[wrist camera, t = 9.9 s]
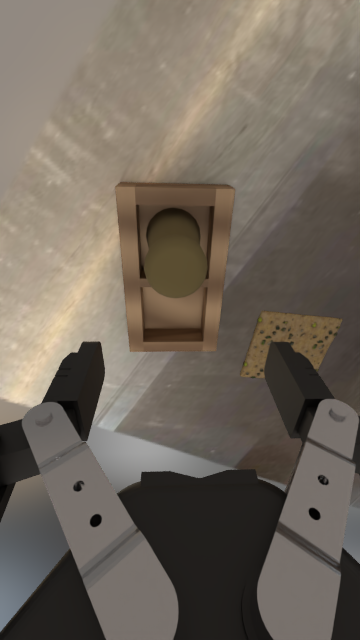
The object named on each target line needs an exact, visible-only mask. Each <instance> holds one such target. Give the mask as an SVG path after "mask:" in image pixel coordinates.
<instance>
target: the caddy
mask: <svg viewBox="0 0 360 640" xmlns="http://www.w3.org/2000/svg"><path fill="white" fill-rule="evenodd" d="M115 190H116V201H117V212H118V223H119V234H120V246H121V257H122V268H123V279H124V291H125V302H126V313H127V324H128V336H129V347H130V352H155V351H216V347H217V338H218V330H219V321H220V313H221V305H222V296H223V288H224V279H225V271H226V262H227V254H228V246H229V237H230V229H231V220H232V212H233V203H234V195H235V189H234V188H232V187H231V186H229V185H215V184H171V183H127V182H120V183H119V184H118V185H117V186H115ZM172 207H173V208H180V209H183V210H185V211H187V212H189V213H190V214H191V215H192V216H193V217H194V218H195V219H196V221H197V223H198V225H199V227H200V246H201V247H202V249H203V252H204V254H205V256H206V258H207V266H208V269H207V273H206V278H205V280H204V282H203V283H202V285H201V287H200V288H199V289H198V290H196V291H195V292H194V293H193V294H191V295H188V296H186V297H182V298H169V297H166V296H163V295H161V294H159V293H158V292H156V291H155V290H154V289H153V288H152V287H151V285H150V284H149V282H148V280H147V279H146V275H145V271H144V264H145V257H146V255H147V253H148V250H149V248H148V244H147V239H146V231H147V226H148V224H149V222H150V220H151V219H152V218H153V216H154V215H155V214H156V213H158V212H160V211H161V210H163V209H167V208H172Z"/></svg>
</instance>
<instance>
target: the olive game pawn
mask: <svg viewBox="0 0 360 640" xmlns="http://www.w3.org/2000/svg"><path fill="white" fill-rule="evenodd" d="M146 239H147V244H148V248H149V250H148V253H147V255H146V257H145V264H144V271H145V275H146V279H147V280H148V282H149V284H150V285H151V287H152V288H153V289H154V290H155V291H156V292H158V293H159V294H161V295H163V296H166V297H169V298H182V297H186V296H188V295H191V294H193V293H194V292H195V291H196V290H198V289H199V288H200V287H201V285H202V283H203V282H204V280H205V278H206V273H207V269H208V266H207V258H206V256H205V254H204V252H203V249H202V247H201V246H200V227H199V225H198V223H197V221H196V219H195V218H194V217H193V216H192V215H191V214H190V213H189V212H187V211H185V210H183V209H180V208H173V207H172V208H167V209H163V210H161V211H160V212H158V213H156V214H155V215H154V216H153V218H152V219H151V220H150V222H149V224H148V226H147V231H146Z"/></svg>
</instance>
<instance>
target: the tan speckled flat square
mask: <svg viewBox="0 0 360 640" xmlns="http://www.w3.org/2000/svg"><path fill="white" fill-rule="evenodd" d="M341 322H342V319H338V318H332V317H321V316H309V315H300V314H292V313H279V312H269V311H261V314H260V317H259V318H258V323H257V325H256V328H255V330H254V335H253V338H252V340H251V343H250V347H249V349H248V352H247V355H246V359H245V361H244V364H243V367H242V370H241V373H240V376H242V377H251V378H265V375H264V367H265V362H266V358H267V354H268V350H269V346H270V343H271V342H289V343H290V345H291V346H292V348H293V349H294V351H295V352H300V353H301V354H302V355H304V356H305V357H306V358H308V359H309V361H310V362H311V364H312V365H313V367H314V369H315V370H316V371H318V370H319V369H318V368H319V366H320V364H321V362H322V361H323V358H324V356H325V354H326V351H327V349H328V347H329V346H330V344H331V342H332V341H333V339H334V337H335V336H336V335H337V331H338V329H339V328H340V324H341Z"/></svg>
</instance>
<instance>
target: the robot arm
mask: <svg viewBox="0 0 360 640" xmlns="http://www.w3.org/2000/svg"><path fill="white" fill-rule="evenodd" d="M264 375H265V379H266V382H267V384H268V386H269V389H270V391H271V393H272V396H273V398H274V401H275V403H276V405H277V408H278V410H279V412H280V415H281V417H282V420H283V422H284V424H285V427H286V429H287V431H288V434H289V436H290V438H301V441H302V443H303V444H302V446H301V449H300V451H299V454H298V457H297V460H296V462H295V465H294V468H293V471H292V473H291V476H290V479H289V482H288V484H287V487H286V489H285V492H284V491H282V490H281V489H279V488H278V487H276V486H274V485H272V484H270V483H268V482H266V481H263V480H260V479H258V478H257V474H256V471H255V469H251V470H226V471H223V472H220V473H216V474H213V475H210V476H207V477H203V478H195V477H191V476H187V475H183V474H178V473H175V472H171V471H163V472H142V474H141V481H140V482H137V483H134V484H132V485H130V486H128V487H126V488H125V489H123V490H121V491H120V492H119V493H117V494H116V492H115V490H114V489H113V487H112V485H111V483H110V482H109V480H108V478H107V477H106V475H105V473H104V471H103V470H102V468H101V466H100V465H99V463H98V461H97V460H96V458H95V456H94V455H93V453H92V451H91V450H90V448H89V446H88V445H87V443H86V442H82V441H87V439H88V436H89V432H90V429H91V425H92V421H93V418H94V414H95V411H96V407H97V403H98V400H99V396H100V392H101V389H102V385H103V381H104V376H105V367H104V360H103V354H102V347H101V343H100V342H83V343H82V344H81V347H80V349H79V351H78V353H70V354H69V355H68V356H67V357H66V358H64V359H63V360H62V363H61V365H60V367H59V370H58V371H57V373H56V375H55V377H54V379H53V381H52V383H51V385H50V387H49V389H48V391H47V393H46V395H45V397H44V399H43V401H42V403H41V404H39V405H37V406H35V407H33V408H32V409H30V410H29V411H28V412H27V413H26V414H25V416H24V418H23V419H21V420H18V421H14V422H11V423H7V424H3V425H0V522H1V519H2V517H3V514H4V511H5V509H6V506H7V504H8V501H9V498H10V496H11V494H12V491H13V488H14V486H15V483H16V482H18V481H21V480H23V479H27V478H29V477H32V476H36V475H39V474H41V476H42V478H43V481H44V484H45V486H46V489H47V491H48V494H49V496H50V498H51V501H52V504H53V506H54V508H55V511H56V514H57V516H58V519H59V521H60V524H61V526H62V529H63V531H64V534H65V536H66V539H67V542H68V544H69V547H70V549H69V550H68V551H67V552H66V554H65V555H64V556H63V557H62V558H61V560H60V561H59V562H58V563H57V564H56V566H55V567H54V568H53V569H52V570H51V572H50V573H49V574H48V575H47V576H46V578H45V579H44V580H43V581H42V583H41V584H40V585H39V586H38V587H37V589H36V590H35V591H34V592H33V593H32V595H31V596H30V597H29V598H28V599H27V601H26V602H25V603H24V604H23V605H22V607H21V608H20V609H19V611H18V612H17V613H16V614H15V615H14V617H13V618H12V619H11V620H10V621H9V622H8V624H7V625H6V626H5V627H4V628H3V630H2V631H1V632H0V640H360V564H359V563H358V562H357V561H356V560H355V559H354V558H353V557H352V556H351V555H350V554H349V553H347V551H346V550H345V549H344V548H343V547H342V546H343V539H344V534H345V527H346V521H347V515H348V509H349V503H350V497H351V491H352V485H353V479H354V473H359V475H360V416H358V415H357V414H356V412H355V411H354V410H353V409H352V408H351V407H350V406H349V405H347V404H345V403H343V402H341V401H339V400H335V398H334V397H333V395H332V394H331V392H330V391H329V389H328V388H327V386H326V385H325V383H324V382H323V380H322V379H321V377H320V376H319V375H318V373H317V371H316V370H315V369H314V367H313V365H312V364H311V362H310V361H309V359H308V358H306V357H305V356H304V355H302V354H301V353H300V352H295V351H294V349H293V348H292V346H291V345H290V343H289V342H271V343H270V346H269V350H268V354H267V358H266V362H265V367H264Z"/></svg>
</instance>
